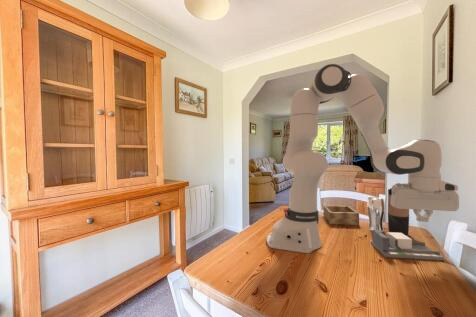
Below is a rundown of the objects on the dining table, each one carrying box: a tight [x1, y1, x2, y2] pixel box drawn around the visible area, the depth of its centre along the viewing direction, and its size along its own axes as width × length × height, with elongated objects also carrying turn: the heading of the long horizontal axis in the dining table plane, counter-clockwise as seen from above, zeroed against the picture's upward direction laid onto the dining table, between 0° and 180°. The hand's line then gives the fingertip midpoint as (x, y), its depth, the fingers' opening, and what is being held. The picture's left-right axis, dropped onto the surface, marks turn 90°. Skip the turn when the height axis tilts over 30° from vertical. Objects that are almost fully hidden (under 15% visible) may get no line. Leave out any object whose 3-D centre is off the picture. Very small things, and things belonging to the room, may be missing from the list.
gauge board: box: [370, 239, 445, 261], centre depth 76 cm, size 18×11×2 cm, turn 80°
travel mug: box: [387, 187, 410, 237], centre depth 92 cm, size 8×8×20 cm
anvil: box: [372, 230, 389, 252], centre depth 77 cm, size 2×8×5 cm, turn 171°
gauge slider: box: [386, 231, 413, 250], centre depth 75 cm, size 5×8×4 cm, turn 170°
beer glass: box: [366, 196, 386, 233], centre depth 97 cm, size 7×7×15 cm
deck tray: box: [322, 205, 360, 226], centre depth 112 cm, size 14×14×6 cm
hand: (422, 221), depth 75 cm, fingers closed
